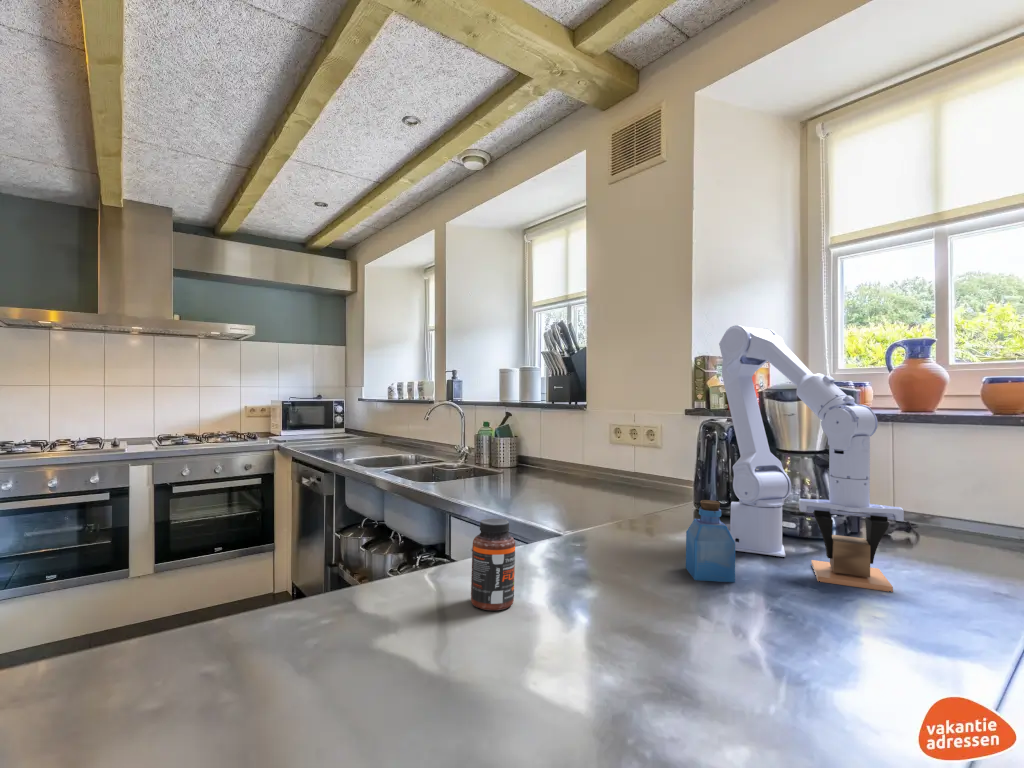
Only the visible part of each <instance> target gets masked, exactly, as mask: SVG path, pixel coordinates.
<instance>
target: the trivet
mask: <svg viewBox="0 0 1024 768" xmlns="http://www.w3.org/2000/svg"><path fill="white" fill-rule="evenodd" d="M810 562H811V564H812V565H811V564H810V565H811V567H812V566H813V567H812V570H813V569H814V570H813V572H815V573H814V575H816V576H815V578H816V581H817V582H819V581H820V583H825V584H826V583H827V584H832V585H833V584H834V585H841V586H847V587H854V588H862V589H870V590H875V591H882V592H889V591H891V592H890V593H893V592H894V586H893V585H892V584H891V583H890V581H889V580H888V579H887V577H886V575H884V574H883V572H882V570H881V569H880V568H879V567H871V566H870V577H864V576H857V575H850V574H843V573H836V572H833V570H832V567H831V565H830V561H821V560H814V559H811V561H810Z"/></svg>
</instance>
